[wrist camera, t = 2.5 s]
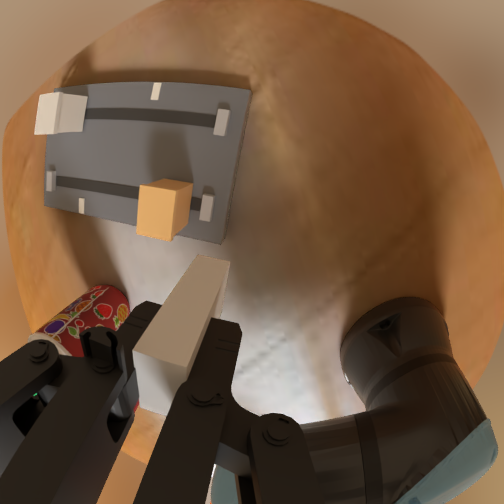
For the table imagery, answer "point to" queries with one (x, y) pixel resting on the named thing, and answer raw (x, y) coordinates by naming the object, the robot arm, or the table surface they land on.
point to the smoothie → (84, 319)
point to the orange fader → (163, 208)
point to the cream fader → (60, 113)
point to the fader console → (150, 151)
